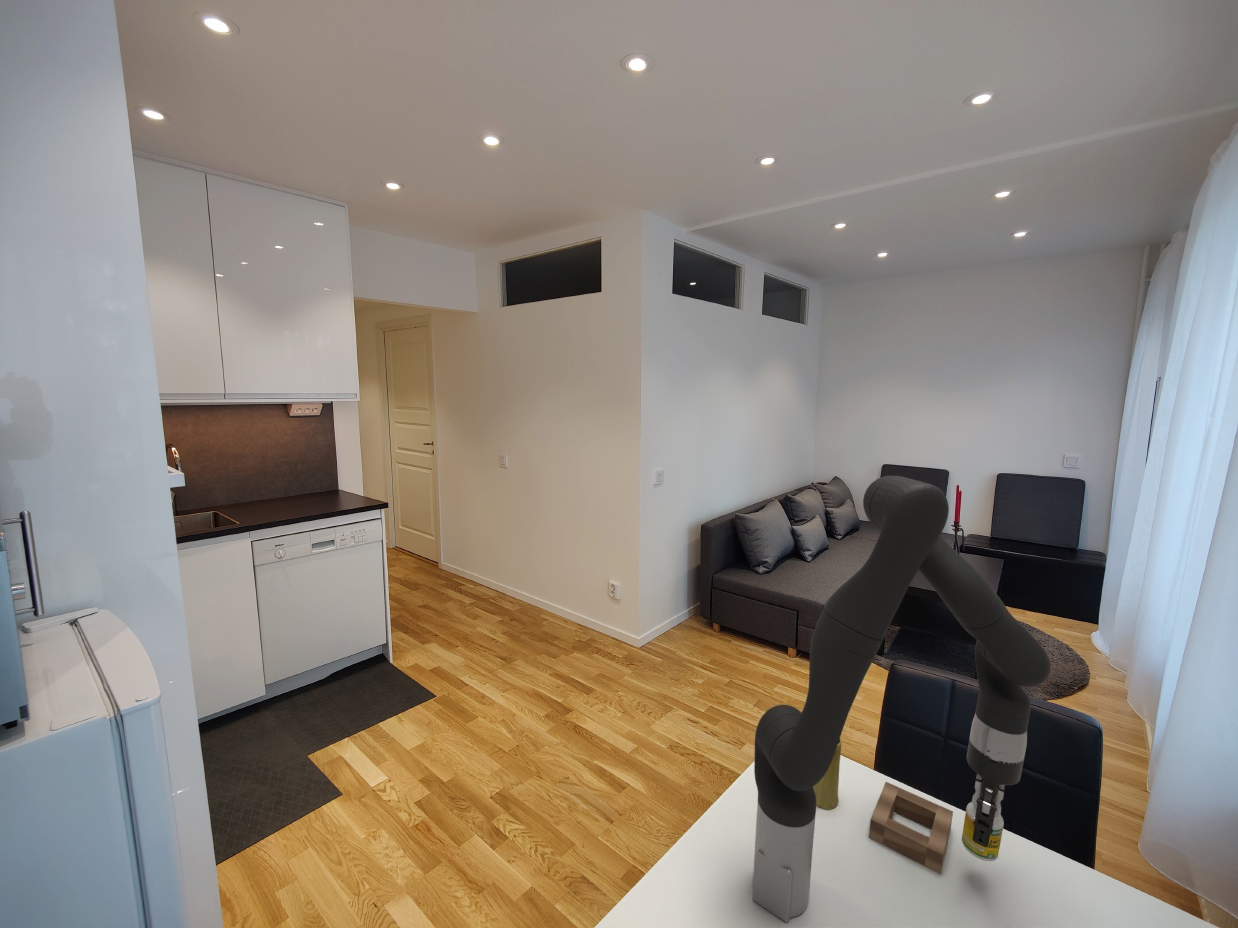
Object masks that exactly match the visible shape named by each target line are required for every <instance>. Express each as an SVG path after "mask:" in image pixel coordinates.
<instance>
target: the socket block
mask: <svg viewBox="0 0 1238 928" xmlns="http://www.w3.org/2000/svg"><path fill="white" fill-rule="evenodd" d="M895 813H896V814H897V815H899V816H902V817H904V818H905V819H908V820H910V821H913V822H915V823H916V824H919V825H920V826H922V827H926V828H927V829H929V830H931V831H930V835H929V836H927V835H925V834H923V833H920V832H918V830H914V829H912V828H910V827H909V826H907V825H905V824H902V823H900V822H898V821H896V820H893V817H894V814H895ZM953 813H954V811H952V810H951V809H948V808H946V807H944V806H942V805H939V804H937V803H936V802H935V803H934V802H932V801H931V800H928V799H925V798H924V797H922V796H920V795H917V794H915V793H912V792H910V791H908V790H906V789H904V788H901V787H899V786H897V785H895V784H892V783H890V782H888V781H885V783H884V785H883V787H882V790H881V793H880V795H879V797H878V799H877V803H876V805H875V807H874V810H873V811H872V815H871V816H870V821H869V830H868V838H870V839H872V840H873V841H875V842H877V843H879V844H882V845H883V846H885V847H887V848H889V849H891V850H893V851H895V852H897V853H899V854H900V855H903V856H905V857H907V858H908V859H911V860H912V861H914V862H917V863H919V864H920V865H921V866H925V868H928V869H930V870H932V871H934V872H935V873H938V874H939V875H941V874H942V871H943V870H942V869H943V865H944V861H945V857H946V852H947V847H948V843H949V839H950V834H951V830H952V829H951V828H952V822H953V815H954V814H953Z"/></svg>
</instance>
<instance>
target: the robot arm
mask: <svg viewBox="0 0 1238 928" xmlns="http://www.w3.org/2000/svg"><path fill="white" fill-rule="evenodd" d="M862 501H863V502H862V507H863V510H864V514H865V515H866V518H867V519H868V521H870V523H871V524H872V525H873V526H875V528H877V529H878V530H879V531H880V532H879V536H878V538H877V540H876V543H875V545H874V547H873V548H872V551H871V553H870V555H869V557H868V559H867V560H866V562H865V563H864V564H863V565H862V566H861V568H860V569H858V571H857V572H855V574H853V575H852V576H851V577H850V578H849V579H847V581H845V582H844V583H843V584H841V585H840V587H838V589H837V590H835V591H834V593H832V595H831V596H830V598H829V599H828V601H827V602H826V604H825V606H824V607H823V609H822V612H821V614H820V616H819V619H818V621H817V622H816V626H815V628H814V630H813V633H812V636H811V640H810V648H809V664H808V665H809V668H808V669H809V671H808V675H809V677H808V689H807V696H806V699H805V702H804V706H803V708H802V711H801V710H800V709H798V708H796V707H795V706H792V705H791V704H778V705H777V704H776V705H775V706H772V707H771V708H768V709H767V710H766V711H765V712H764V713H763V715H762V716H761V717H760V718H759V721H758V723H757V725H756V729H755V735H754V770H753V771H754V773H753V774H754V780H755V784H756V789H757V807H756V809H757V810H756V821H755V822H756V823H755V836H754V838H755V839H754V853H753V854H754V856H753V875H752V900H753V901H754V902H755V903H756V904H757V905H760V906H761V907H763V908H764V909H765V910H767V911H768V912H770V913H771V914H773V915H775V916H776V917H777V918H779V919H780V920H782V921H783V922H785V923H789V922H790V920H791V918H795V917H798V916H800V915H802V914H803V913H804V912H805V911H806V910H807V907H808V906H809V901H810V899H809V898H810V887H811V876H812V875H811V873H812V862H813V850H814V849H813V848H814V837H815V836H814V835H815V826H816V825H815V824H816V813H817V812H816V811H817V806H816V795H815V791H814V788H813V786H815V785H816V784H817V783H818V782H819V781H820V780H821V779H822V778H823V776H824V775H825V774H826V772H827V770H828V768H829V766H830V764H831V762H832V759H833V756H834V754H835V751H836V748H837V745H838V742H839V739H840V738H841V735H842V732H843V730H844V727H845V724H846V721H847V718H848V715H849V713H850V711H851V708H852V706H853V703H854V701H855V699H856V697H857V694H858V693H859V690H860V687H861V686H862V684H863V682H864V679H865V676H866V674H867V673H868V670H870V669H869V668H870V667H871V665H872V664H873V661H874V659H875V657H876V655H877V653H878V651H879V649H880V647H881V646H882V642H883V641H884V639H885V637H886V634H887V631H888V629H889V627H890V625H891V622H892V621H893V619H894V617H895V615H896V613H897V611H898V608H899V607H900V605H901V603H902V602H903V599H904V597H905V594H906V593H907V591H908V589H909V587H910V585H911V583H912V581H913V580H914V578H915V576H916V574H917V572H918V571H919V572H920V573H921V575H922V576H923V577H924V578H925V579H926V580H927V582H928V583H929V584H930V586H931V587H932V589H934V591H935V592H936V594H938V596H939V598H940V599H941V600H942V601H943V603H944V604H945V605H946V607H947V608H948V609H949V611H950V612H951V613H952V615H953V616H954V618H955V619H956V620H957V621H958V623H959V624H960V626H961V627H962V628H963V629H964V630H965V631H966V632H967V633H968V634H969V635H970V636H972V638H974V639H975V640H976V642H975V647H974V657H975V658H974V659H975V660H974V661H975V669H976V679H977V683H978V695H977V700H976V706H975V713H974V716H973V718H972V722H971V727H970V734H969V739H968V745H967V746H968V747H967V751H966V752H967V753H966V762H967V764H968V766H969V768H971V769H972V770H973V772H975V773H976V778H975V783H974V790H975V792H974V794H975V799H974V807H975V808H976V815H975V817H974V820H975V821H974V820H973V824H974V833H973V841H974V842H975V843H977V844H979V845H981V846H983V847H988V844H989V838H990V834H991V833H993V829H992V828H993V827H994V825H993V822H994V817H998V814H999V808H1000V804H1001V802H1002V801H1003V800H1004V795H1005V786H1013V785H1016V784H1018V783H1019V782H1020V781H1021V778H1022V777H1021V776H1022V771H1023V768H1024V767H1023V766H1024V762H1025V756H1026V750H1027V744H1028V726H1029V723H1030V717H1031V708H1032V703H1031V699H1030V697H1029V695H1028V694H1027V693H1026V691H1025V690H1024V688H1023V687H1025V688H1027V687H1028V688H1030V687H1031V688H1033V687H1037V686H1039V685H1040V686H1041V685H1042V684H1043V683H1045V682H1046V681H1047V680H1048V679H1049V676H1050V674H1051V667H1052V665H1051V661H1050V658H1049V656H1048V653H1047V652H1046V650H1045V649H1044V647H1043V646H1042V645H1041V644H1040V643H1039V641H1038V640H1036V638H1035V637H1034V636H1033V635H1032V634H1031V633H1030V632H1029V631H1028V630H1027V629H1026V628H1025V626H1023V625H1022V624H1021V623H1020V622H1019V621H1018V620H1017V619H1016V617H1014V616H1013V615H1012V614H1011V612H1010V611H1009V609H1008V608H1007V606H1006V605H1005V604H1004V602H1003V601H1002V599H1001V598H1000V596H999V595H998V594H997V592H996V591H995V589H994V588H993V587H992V586H991V585H990V583H989V582H988V581H987V580H986V579H985V578H984V576H983V575H982V574H981V573H980V572H979V570H977V569H975V567H973V565H972V564H970V563H969V561H968V560H966V559H965V558H964V557H963V556H961V555H960V553H958V552H957V551H956V550H955V549H954V548H953V547H952V546H951V545H950V544H949V543H948V542H947V540H945V538H943V536H942V535H941V534H942V532H943V530H944V528H945V527H946V524H947V521H948V518H949V517H948V516H949V511H950V509H949V501H948V498H947V496H946V495H945V493H944V492H943V491H942V490H941V489H940V488H939V487H937V486H935V485H934V484H931V483H928V482H924V481H921V480H916V479H913V478H909V477H905V476H901V475H885V476H881V477H880V478H877V479H875V480H874V481H873V482H871V483H870V484H869V486H868V487H867V488H866V490H865V492H864V495H863V500H862ZM979 793H980V798H979ZM996 799H997V801H996ZM995 803H996V805H995Z"/></svg>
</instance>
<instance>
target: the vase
mask: <svg viewBox="0 0 1238 928" xmlns="http://www.w3.org/2000/svg"><path fill="white" fill-rule="evenodd" d="M842 742H843V741H842V738H841V737H840V739H839V742H838V745H837V748H836V751H835V754H834V756H833V759H832V762H831V764H830V766H829V768H828V770H827V772H826V774H825V775H824V776H823V778H822V779H821V780H820V781H819V782H818V783H817V784H816V785H815V786H813V788H814V791H815V795H816V807H818V808H821V809H826V810H832V809H835V808H836V807H837V806H838V805H839V802H840V801H839V784H840V783H839V782H840V765H841V764H840V763H841V754H842V752H841V751H842Z"/></svg>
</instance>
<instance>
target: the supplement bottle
mask: <svg viewBox="0 0 1238 928" xmlns="http://www.w3.org/2000/svg"><path fill="white" fill-rule="evenodd" d="M979 798H980V793H979ZM974 799H975V793H974V794H973V795H972V799H971V801H970V802H969V803H968V804H967V805H966V808H965V814H964V820H963V821H964V822H963V828H962V833H961V843H962V845H963V847H964V848H965V850H966V851H967V852H968V853H969V854H970V855H972V856H973V857H975V858H977V859H979V860H981V861H985V862H994V861H996V860H997V859H998V857H999V853H1000V848H1001V847H1000V846H1001V841H1002V836H1003V830H1004V825H1005V823H1004V818H1003V815H1002V814H1001V813H1002V804H1001V803H1000V808H999V814H998V817H994V822H993V825H994V827H993V828H992V829H993V833H991V834H990V838H989V844H988V847H983V846H981V845H979V844H977V843H975V842H974V841H973V833H974V824H973V820H974V817H975V815H976V808H975V807H974ZM996 801H997V799H996ZM995 805H996V803H995ZM974 821H975V820H974Z"/></svg>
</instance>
